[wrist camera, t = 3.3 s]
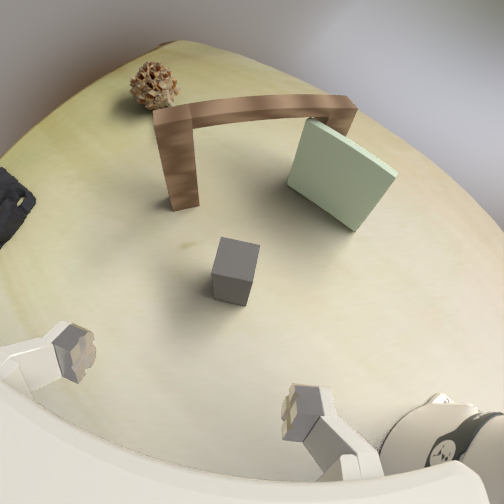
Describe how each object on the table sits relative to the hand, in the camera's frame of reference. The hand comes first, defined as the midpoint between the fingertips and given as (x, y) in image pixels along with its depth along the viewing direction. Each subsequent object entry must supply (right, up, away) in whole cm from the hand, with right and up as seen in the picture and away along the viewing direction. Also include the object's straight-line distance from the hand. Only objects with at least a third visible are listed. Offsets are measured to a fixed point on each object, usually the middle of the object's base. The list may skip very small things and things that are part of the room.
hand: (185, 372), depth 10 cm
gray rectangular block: (0, 0, +25) cm, 25 cm away
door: (+14, +12, +32) cm, 37 cm away
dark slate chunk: (-48, +13, +28) cm, 57 cm away
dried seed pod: (-16, +34, +41) cm, 55 cm away
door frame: (+2, +15, +33) cm, 36 cm away
